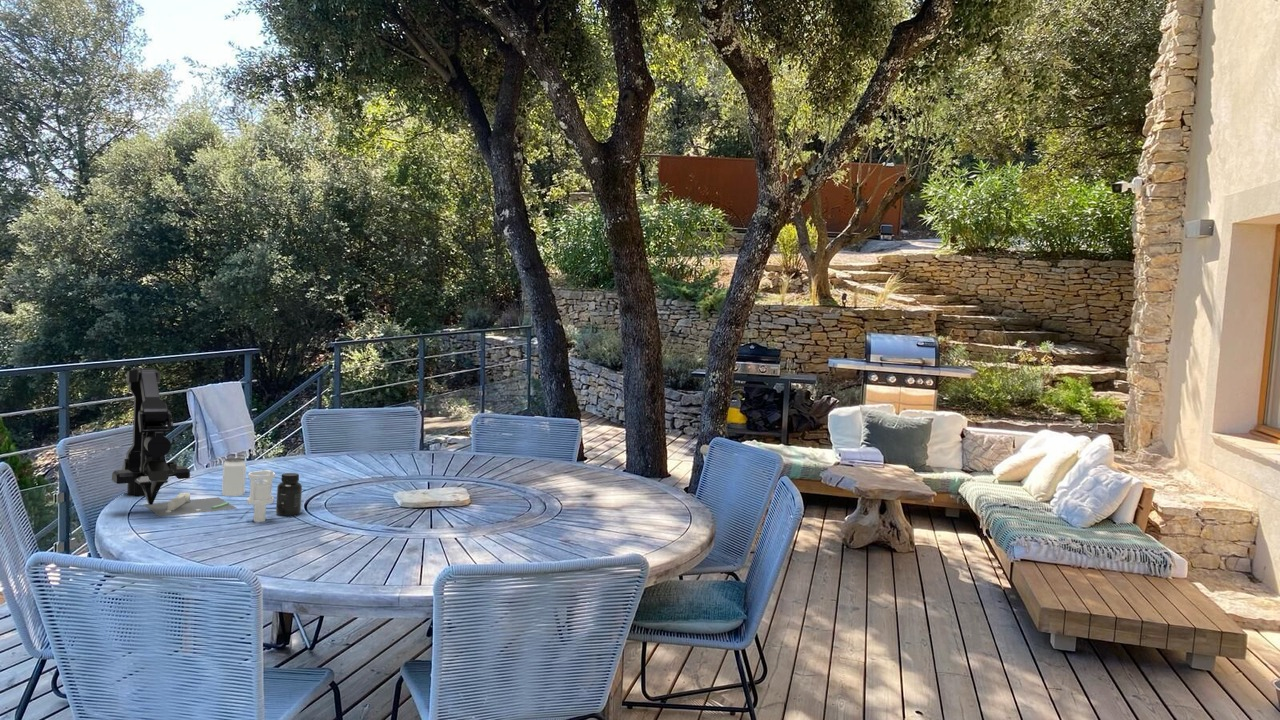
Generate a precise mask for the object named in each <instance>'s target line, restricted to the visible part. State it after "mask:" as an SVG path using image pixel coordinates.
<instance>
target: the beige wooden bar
mask: <svg viewBox="0 0 1280 720" xmlns="http://www.w3.org/2000/svg"><path fill="white" fill-rule="evenodd" d="M190 500H191V492H179V493H178V495H177V496H175V497H174V498H172V499H171V500H169V501H167V502H168V509H167V510H175V509H176V508H178V507H179V506H181V505H182V504H184V503H187V502H190Z"/></svg>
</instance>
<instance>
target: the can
mask: <svg viewBox="0 0 1280 720" xmlns="http://www.w3.org/2000/svg"><path fill="white" fill-rule="evenodd" d="M246 464H247V463H246V461H245V458H241V457H229V458H225V459H224V462H223V468H222V486H221V487H222V489H221V491H222V492H221V494H222V496H226V497H239V496H244V495H245V489H246V474H247V473H246V470H247V467H246V466H247V465H246Z"/></svg>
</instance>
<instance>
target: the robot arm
mask: <svg viewBox="0 0 1280 720" xmlns="http://www.w3.org/2000/svg"><path fill="white" fill-rule="evenodd" d="M125 377H126V378H125V379H126V384H128V389H129V391H130V393H131V394H132V396H133V421H132V422H133V425H132V444H131V446H130V447H129V448H128V450H127V452H126V457H125V458H124V459H123V463H122V467H121V469H120V470H119V469H118V470H114V471H113V472H112V474H111V481H112V482H114V483H115V484H117V485H120V484H121V485H122V484H124V485H125V484H127V489H126V490H127V491H126V494H127V496H133V497H145V499H146V502H147V504H149V505H152V504H154V502H155V499H156V497H157V495H158V493H159V491H160V489H161V487H162V486H163V485H164V484H166V483H168V482H169V478H170V477H175V478H177V479H178V480H184V479H185V480H186V479H190V478H191V477H190V476H191V471H190V469H189V468H188V467H186V466H184V465H177V462H176V461H169V462H167V461H166V455H167V454H168V453H169V452H170V450H171V446H172V444H171V441H170V440H169V439H168V437H166V433H172V431H173V430H172V429H173V428H174V421H173V414H172V413H171V411H170V409H169V410H168V405H167V403H166V402H165V401H163V400H162V399H161V396H160V390H159V384H160V383H161V371H160V370H158V369H155V368H143V367H142V368H140V367H139V368H138V367H137V368H136V367H135V368H134V367H132V368H131V370H128V371H126V376H125Z"/></svg>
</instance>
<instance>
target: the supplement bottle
mask: <svg viewBox="0 0 1280 720" xmlns="http://www.w3.org/2000/svg"><path fill="white" fill-rule="evenodd" d="M280 480H281V482H280V483H278V485H277V487H276V489H277V490H276V508H275V509H276V510H275V513H276V515H278V516H279V515H280V517H295V516H294V515H296V516H298V514H299V515H300V514H301V511H302V493H303V492H302V491H303V486H302V484H301V483H300V482H299V481H300V473H296V472H284V473H282V474H281V479H280Z"/></svg>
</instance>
